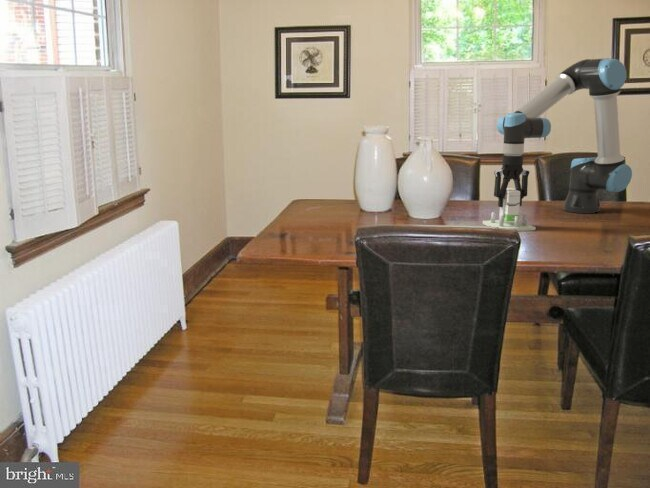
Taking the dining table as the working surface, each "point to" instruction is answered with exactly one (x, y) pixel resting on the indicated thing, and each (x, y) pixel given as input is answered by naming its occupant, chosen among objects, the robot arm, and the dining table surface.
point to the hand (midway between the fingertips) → (509, 214)
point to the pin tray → (509, 223)
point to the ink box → (511, 204)
